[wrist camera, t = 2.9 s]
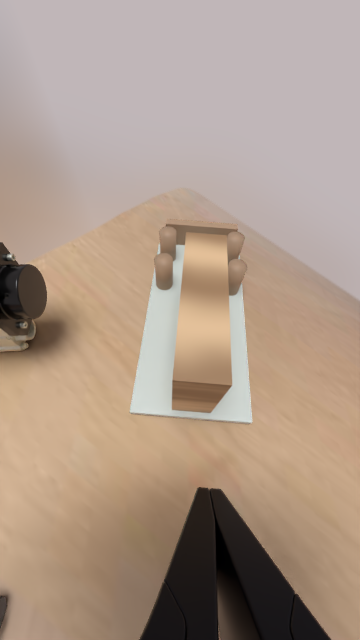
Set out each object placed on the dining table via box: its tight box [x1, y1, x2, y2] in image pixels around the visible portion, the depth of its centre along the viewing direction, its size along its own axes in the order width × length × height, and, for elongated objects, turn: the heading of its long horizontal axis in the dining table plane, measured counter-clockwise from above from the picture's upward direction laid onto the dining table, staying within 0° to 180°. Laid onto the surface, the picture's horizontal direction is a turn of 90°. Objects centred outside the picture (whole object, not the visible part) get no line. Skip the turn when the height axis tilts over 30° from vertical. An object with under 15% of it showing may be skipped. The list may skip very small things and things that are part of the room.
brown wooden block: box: [172, 232, 232, 413], centre depth 21 cm, size 13×4×9 cm, turn 176°
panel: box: [130, 219, 252, 424], centre depth 26 cm, size 23×11×5 cm, turn 176°
